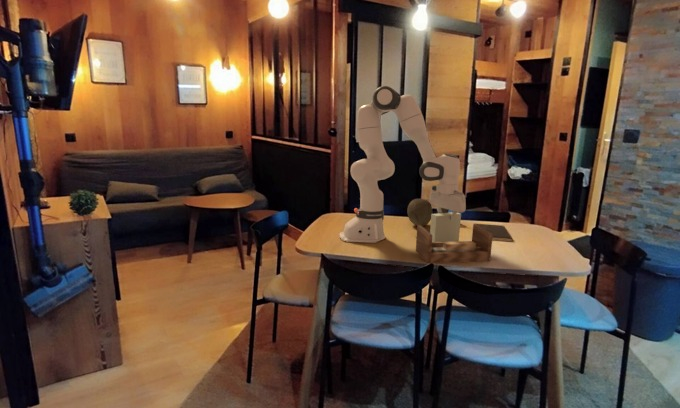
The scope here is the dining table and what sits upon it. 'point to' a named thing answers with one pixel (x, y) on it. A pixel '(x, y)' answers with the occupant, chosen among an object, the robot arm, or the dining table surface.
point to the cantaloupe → (420, 212)
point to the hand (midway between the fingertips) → (445, 217)
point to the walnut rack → (478, 255)
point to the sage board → (445, 227)
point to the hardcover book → (497, 232)
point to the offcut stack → (456, 247)
